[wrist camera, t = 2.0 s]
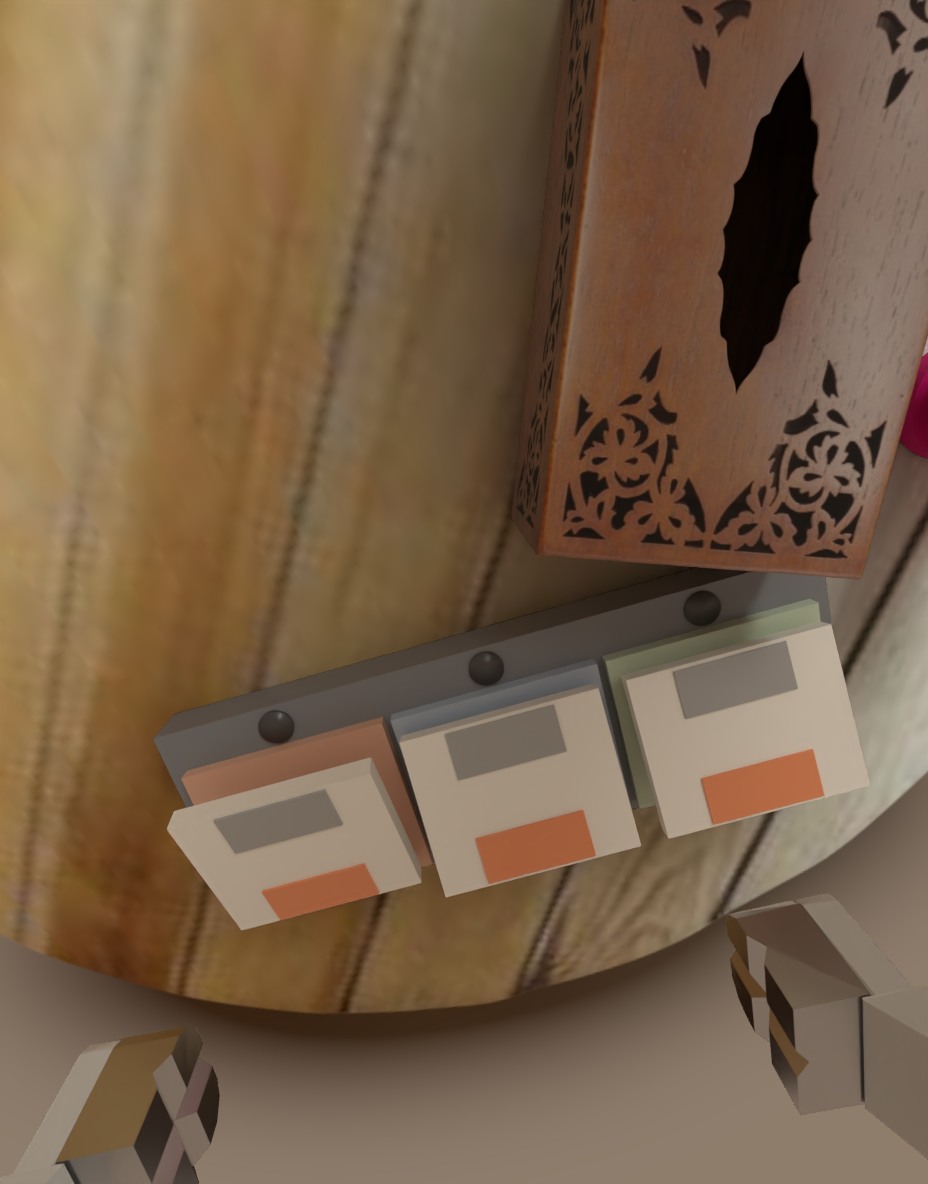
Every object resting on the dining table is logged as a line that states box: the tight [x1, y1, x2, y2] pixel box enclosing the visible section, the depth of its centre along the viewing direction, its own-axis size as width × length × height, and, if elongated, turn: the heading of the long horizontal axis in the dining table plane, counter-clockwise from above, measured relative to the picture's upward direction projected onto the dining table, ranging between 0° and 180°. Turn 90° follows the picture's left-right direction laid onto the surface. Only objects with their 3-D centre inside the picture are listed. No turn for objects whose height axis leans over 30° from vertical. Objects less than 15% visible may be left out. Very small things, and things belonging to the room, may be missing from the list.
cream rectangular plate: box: [399, 683, 641, 897], centre depth 33 cm, size 11×9×1 cm
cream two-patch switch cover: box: [621, 621, 870, 839], centre depth 33 cm, size 11×9×1 cm
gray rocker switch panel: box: [153, 567, 831, 868], centre depth 37 cm, size 39×13×4 cm, turn 106°
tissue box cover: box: [511, 0, 928, 579], centre depth 28 cm, size 26×14×10 cm, turn 175°
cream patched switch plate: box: [167, 757, 422, 930], centre depth 34 cm, size 11×9×1 cm
